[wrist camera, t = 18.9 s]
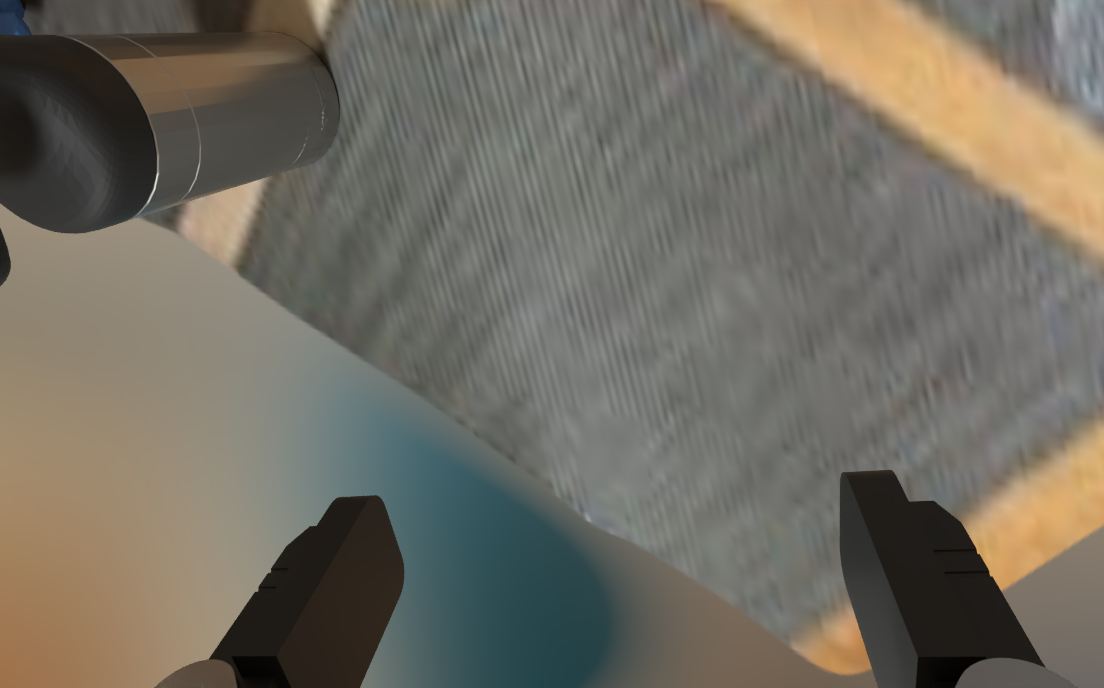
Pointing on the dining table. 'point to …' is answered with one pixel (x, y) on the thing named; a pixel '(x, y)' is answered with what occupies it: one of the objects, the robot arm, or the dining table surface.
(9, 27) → the grapes
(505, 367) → the dining table surface
